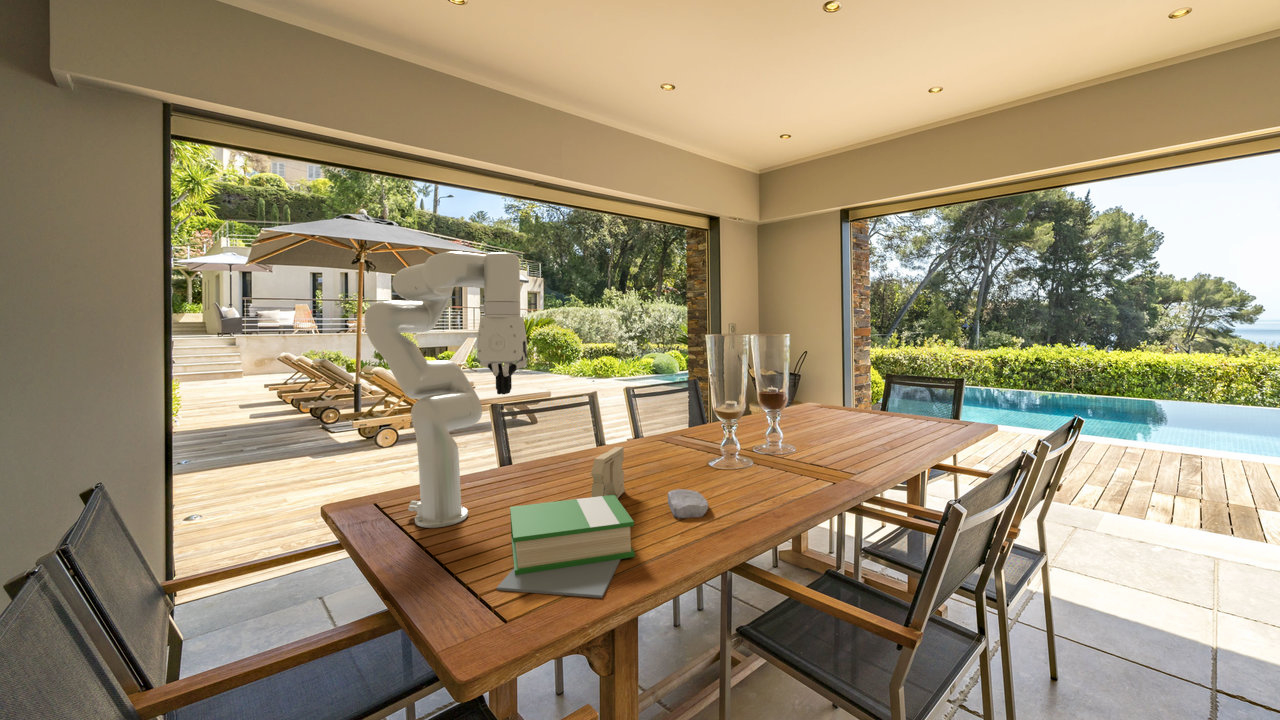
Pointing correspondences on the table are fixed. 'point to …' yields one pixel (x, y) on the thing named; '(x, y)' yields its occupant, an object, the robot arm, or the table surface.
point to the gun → (608, 473)
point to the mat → (564, 580)
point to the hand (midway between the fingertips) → (503, 393)
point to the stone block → (687, 503)
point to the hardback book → (569, 533)
